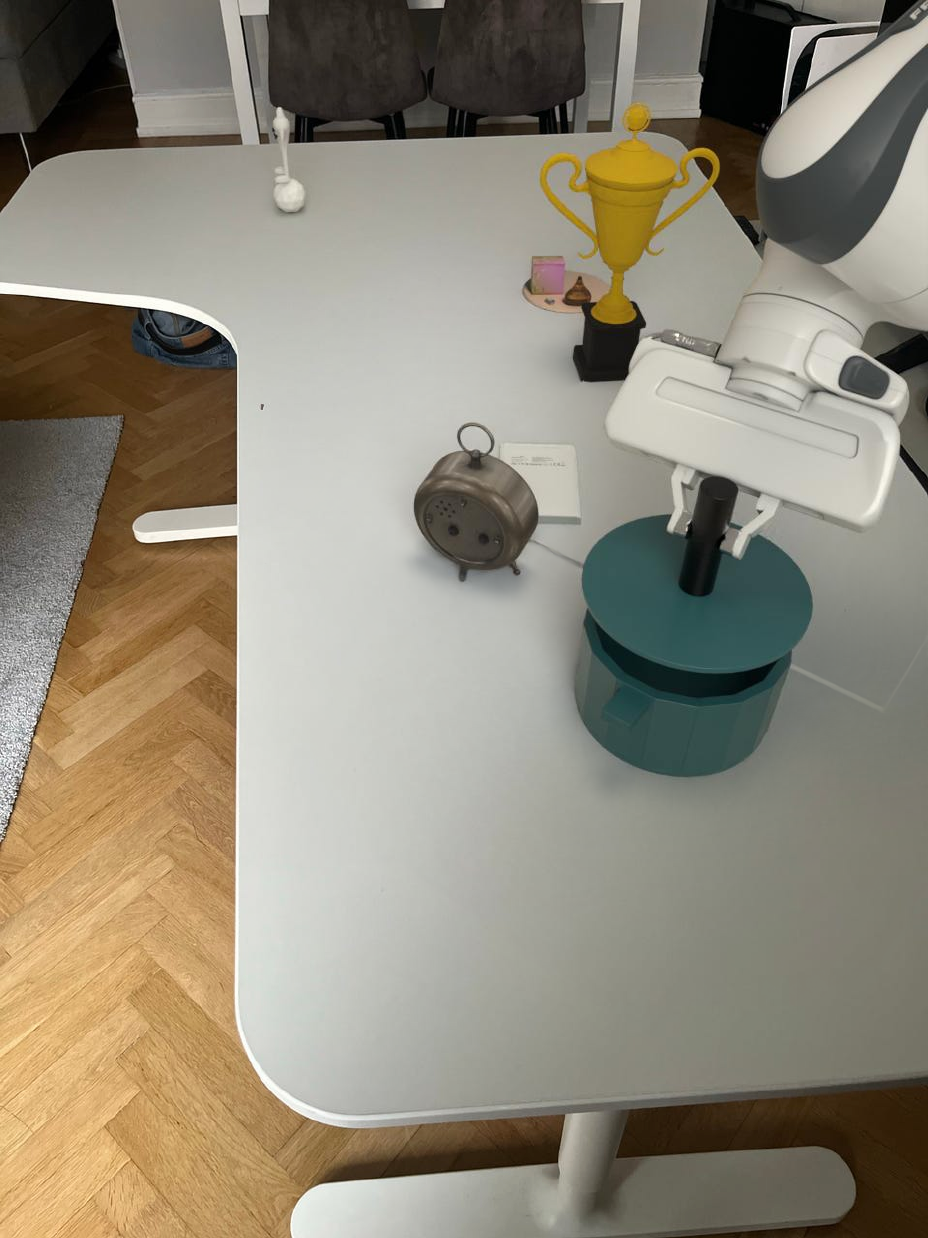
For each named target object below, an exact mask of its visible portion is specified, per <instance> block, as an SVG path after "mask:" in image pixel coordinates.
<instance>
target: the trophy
mask: <svg viewBox="0 0 928 1238" xmlns="http://www.w3.org/2000/svg"><path fill="white" fill-rule="evenodd" d="M651 120H652V113H651V110H650V108H649V106H648V105H646V104H645V103H642V102H633V104H630V105H629V106H628V107H626V109H625V111H624V112H623V115H622V126H623V128H624V129H625V130H626V132H628V133H631V134H633V136H632V138H631V139H624V140H620V141H618V142H617V144H616V145H615V146H614V147H609V148H605V149H601V150H599V151H597V152H594V153H592V154H590V155H589V156H587V157H586V159H585V160H584V164H583V165H584V170H585V176H586V180H585V182H584V183H581V184H579V185H577V184H576V181H578V179H579V178H580V176H581V174H582V170H583V166H582V162H581V161H580V159H579V158H578V156H576V155H574V154H571V153H569V152H559V153H556V154H553V155H552V156H550V157H549V158H548V159H547V160H546V161H545V162H544V164H542V167H541V169H540V175H539V184H540V187H541V190H542V191H543V193H544V195H545V196H546V198H547V200H548V201H549V202H550V203H551V204H552V206H554V208H555V209H556V210H557V211H558V212H560V214H562V215H563V216H564V217H565V218H566V219H567V220H568V221H569V222H571V223H572V225H574V226H576V227H577V228H578V229H579V230H580V231H582V233H584V234H585V235H586V236H587V237H588V238H590V239H591V241H592V243H593V247H594V248H593V250H592V251H591V252H590V253H588V254H585V255H583V254H582V253H581V252H579V251H577V255H578V256H579V257H580V258H582V259H585V260H587V259H590V258H592V257H594V256H595V255H596V254H597V252H598V250H599V255H600V258H601V260H602V262H603V264H605V265H606V266H607V267H608V268H609V270H611V271H612V274H611V277H610V279H611V282H610V287H609V288H610V290H609V293H608V294H605V295H603V296H602V297H601V299H600V300H599V301H598V302H589V303H583V304H582V306H581V309H582V311H583V312H582V314H583V316H584V323H583V332H582V333H583V334H582V344H575V345H574V347H573V352H572V360H573V362H574V365H575V368H576V371H577V373H578V376H579V379H580V382H581V383H582V382H586V383H602V382H603V383H604V382H606V383H607V382H621V381H622V382H624V381H625V379H626V378H627V376H628V375H629V364H630V361H631V359H632V357H633V354H634V352H635V350H636V347H637V345H638V343H639V342H640V336H641V330H642V329H646V327H647V321H646V319H645V318H644V316H643V313H642V311H641V309H640V306H639V305H638V303H637V302H636V301H634V300H630V298H629V297H628V296H626V294H624V281H625V277H624V276H625V272H628V271H629V270H630V269H631V268H633V267H634V266H636V265H637V263H638V262H639V261H640V260H641V258H642V256H643V254H644V252H646V253H647V254H649V255H651V256H654V257H655V256H659V255H660V254H662V253H663V252H664V251H665V248H664V247H663V248H662V249H660V250H659V251H656V252H655V251H652V250H651V249H650V243H651V241H652V240H653V238H654V237H656V235H658V234H659V233H660V232H661V231H663V230H665V228H667V227H669V225H670V224H672V223H674V221H676V220H677V219H679V218H680V217H681V216H682V215H684V214H685V213H686V212H687V211H688V210H689V209H691V208H692V207H693V206H694V205H695V204H696V203H698V202H699V201H700V200H701V199H702V198H703V197H704V196H705V195H706V193H708V191H709V190H710V189H711V188H712V187H713V185H714V184H715V183H716V181H717V179H718V177H719V174H720V169H721V168H720V167H721V165H720V160H719V157H718V155H717V154H716V153H715V152H714V151H713V150H711V149H709V148H706V147H698V148H697V147H696V148H694V149H692V150H690V151H688V152H687V153H684V155H683V157H682V158H681V160H680V161H679V167H678V164H677V163H676V162H675V160H674V159H672V158H671V157H669V156H668V155H666V154H664V153H662V152H659V151H656V150H654V149H652V148H651V146H650V144H649V143H648V142H647V141H643V140H641V139H637V134H639V133H642V132H643V131H645V130H646V129H647V128H648V127H649V124H650V123H651ZM698 157H700V158H706V160H708V161H709V162H710V163H711V165H712V173H711V176H710V177H709V178H708V180H707V182H705V184H703V186H702V187H701V188H700V189H699V190H698V191H697V192H696V193H695V194H694V195H693V196H692V197H690V198H688V200H687V201H686V202H685V203H683V204H682V205H680V206H679V207H678V208H677V209H676V210H675V211H674V212H672V213H670V215H669V216H667V217H666V218H665V219H664V220H662V221H661V222H660V223H658V224H657V225H656V226H655V224H656V222H657V219H658V217H659V214H660V211H661V209H662V207H663V204H664V200H665V199H666V198H667V197H668V196H669V194H670V193H671V190H677V189H679V190H680V189H682V188H684V187H686V186H687V185H689V183H690V181H691V180H690V179H691V177H690V173H689V171H688V168H687V167H688V164H689V162H690V161H691V160H692V159H694V158H698ZM563 162H564V163H565V162H567V163H571V164H572V165H573V167H574V172H573V174H572V176H571V177H570V178H569V181H568V188H569V189H570V191H572V192H575V193H585V194H588V195H589V197H590V201H591V204H592V212H593V214H592V215H593V222H594V227H595V228H594V229H595V232H594V231H593V230H592V228H590V227H589V225H587V224H586V223H585V222H584V221H583V220H582V219H581V218H579V216H577V215H576V214H575V213H574V212H573V211H572V210H570V209H569V207H567V206H566V205H565V204H564V203H563V202H562V201H561V199H559V198H558V197H557V196H556V194H554V192H553V191H552V189H551V187H550V186H549V184H548V181H547V175H548V173H549V171H550V170H551V169H552V168H553V167H554V166H556V165H557V164H559V163H563ZM678 171H679V172H680V174H681V177H682V179H681V180H680V181H679V180H678V181H677V180H675V177H676V176H677V173H678Z"/></svg>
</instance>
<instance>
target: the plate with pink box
mask: <svg viewBox="0 0 928 1238" xmlns="http://www.w3.org/2000/svg"><path fill="white" fill-rule="evenodd" d="M565 268H566V262H565V258H564V255H532V256H531V269H530V278H529V279H528V280H527V281H525V283H524V285H523V286H522V289H521V290H522V291H521V292H522V295H523V297H524V298H525V299H526V301H528V302H529V303H531V304H532V305H534V306H535V307H537V308H540V309H543V310H547V311H551V312H556V313H563V314H564V313H565V314H574V313H575V314H576V313H577V314H579V313H583V311H582V309H581V306H582V304H583V303H589V302H598V301H599V300H600V299H601V297H602V296H603V295H605V294H608V293H609V290H610V287H609V285H608V284H607V283H606V282H605V281H603V279H601V278H599V277H598V276H595V275H592V274H589V273H586V272H581V271H576V270H566V269H565Z"/></svg>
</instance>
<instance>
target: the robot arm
mask: <svg viewBox="0 0 928 1238" xmlns="http://www.w3.org/2000/svg"><path fill="white" fill-rule="evenodd" d="M772 123H773V124H772V125H771V126H770V128H769V129H768V131H767V133H766V134H765V137H764V138H763V140H762V143H761V145H760V148H759V151H758V154H757V155H758V156H757V162H756V168H755V201H756V207H757V214H758V219H759V222H760V226H761V229H762V231H763V233H764V235H765V236H766V237H767V238H766V241H765V244H764V247H763V256H762V261H761V266H760V269H759V272H758V273H757V275H756V277H755V279H754V280H753V281H752V283H751V284H750V285H749V286H748V287H747V289H746V291H745V292H744V293H743V295H742V296H741V299H740V301H739V304H738V306H737V308H736V310H735V312H734V315H733V318H732V320H731V321H730V325H729V326H728V329H727V332H726V334H725V336H724V339H723V341H722V343H720V342H717V341H712V340H709V339H706V338H701V337H695V336H690V335H687V334H683V332H681V331H678V330H676V329H669V328H666V329H664V330H662V332H660V331H659V332H653V333H650V334H648V335H646V336H645V337H643V338H642V339H641V340H639V343H638V345H637V347H636V350H635V352H634V354H633V357H632V359H631V361H630V364H629V375H628V376H627V378H626V379H625V381H623V383H622V384H621V385H620V387H619V390H618V391H617V393H616V395H615V397H614V398H613V401H612V402H611V404H610V406H609V408H608V410H607V412H606V414H605V417H604V418H603V419H604V420H603V429H604V434H605V437H606V438H607V440H608V441H609V442H610V444H612V445H613V447H615V448H617V449H619V450H621V451H624V452H627V453H628V454H629V453H630V454H632V455H635V456H638V457H641V458H644V459H647V460H649V461H651V462H655V463H658V464H660V465H663V466H667V467H669V468H673V469H674V470H673V472H672V475H671V477H670V484H671V492H672V501H673V507H674V510H673V512H672V513H671V514H672V516H671V519H670V521H669V524H668V526H667V532H668V533H670V534H673V535H675V536H678V537H681V538H683V539H686V540H688V536H689V531H690V527H691V522H692V518H693V513H694V512H690V511H689V509H688V508H689V507H688V499H687V490H689V491H694V490H695V488H696V486H697V484H698V483H699V480H700V478H701V479H702V480H703V479H705V478H707V477H712V476H719V477H724V478H727V479H730V480H731V481H733V482H734V483H735V484H736V485H737V487H738V492H741V493H742V494H743V493H744V494H746V495H750V496H751V497H755V498H758V499H757V502H756V504H755V506H754V508H755V509H756V511H757V514H758V515H757V516H755V517H754V518H752V519H751V520H750V521H749V522H748V523H746V525H744V526H742V527H743V528H742V529H740V530H737V529H734V528H732V527H729V528H728V530H727V531H726V534H725V538H726V539H725V540H723V541H722V543H721V545H720V549H719V551H720V552H721V553H723V554H726V555H728V556H731V557H733V558H736V559H739V560H741V559H742V557H743V555H744V553H745V551H746V548H747V546H748V544H749V541H750V539H751V538H754V537H755V536H756V535H758V534H759V535H760V534H761V533H762V532H763V531H765V530H766V529H767V528H769V527H771V526H772V525H773V524H774V523H775V522H777V520H778V518H779V516H780V513H781V511H782V508H783V507H784V508H786V509H789V510H792V511H795V512H797V513H800V514H804V515H806V516H809V517H811V518H815V519H818V520H820V521H823V522H826V523H829V524H831V525H834V526H838V527H840V528H843V529H846V530H849V531H852V532H855V533H858V534H864V533H866V532H868V531H870V530H873V529H874V528H876V527H877V526H878V525H879V523H880V521H881V518H882V517H883V514H884V511H885V508H886V506H887V504H888V500H889V497H890V495H891V491H892V487H893V484H894V480H895V476H896V472H897V468H898V463H899V458H900V453H901V452H900V451H901V433H900V429H899V426H900V425H901V423H902V422H903V421H904V418H905V416H906V414H907V411H908V409H909V404H910V391H909V387H908V383H907V382H906V380H905V379H904V378H903V376H900V374H897V373H896V372H895V371H894V370H892V369H890V368H889V367H887V366H886V365H884V364H883V363H881V362H880V361H878V360H876V358H874V357H872V356H871V355H869V354H868V353H866V352H865V351H863V350H862V349H861V348H862V345H863V344H864V341H865V336H866V334H867V331H868V329H869V328H870V327H871V326H872V325H874V324H876V323H879V322H887V323H889V324H891V325H893V326H896V327H899V328H902V329H907V330H911V331H916V332H922V333H923V332H924V333H928V0H917V1H916V2H915V3H914V4H913V5H912V6H911V7H909V9H907V11H905V12H904V13H903V14H902V15H901V16H899V18H897V19H896V20H895V21H894V22H893V23H892V24H891V25H890V26H889V27H887V28H886V29H885V30H884V31H883V32H882V33H880V34H879V35H878V36H877V37H876V38H875V39H873V40H872V41H871V42H870V43H869V44H867V45H865V46H864V47H863V48H862V49H860V50H859V51H858V52H856V53H854V54H853V55H852V56H850V57H849V58H848V59H846V60H845V61H843V62H842V63H840V64H839V65H837V66H835V68H833V69H831V70H830V71H829V72H827V73H825V75H823V76H821V77H820V78H819V79H818V80H816V81H815V82H813V83H812V84H811V85H809V86H808V87H807V88H805V89H804V90H803V91H802V92H800V94H799V95H798V96H796V97H795V98H794V99H793V100H792V101H791V102H790V103H789V104H788V105H787V106H786V107H785V108H784V109H783V111H781V113H780V114H779V115H778V116H777V118H776V119H775V121H774V122H772ZM657 339H660V340H657Z"/></svg>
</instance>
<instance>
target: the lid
mask: <svg viewBox="0 0 928 1238" xmlns="http://www.w3.org/2000/svg"><path fill="white" fill-rule="evenodd" d="M738 495H739V491H738V487H737V485H736V484H735V483H734V482H733V481H731V480H730V479H727V478H724V477H719V476H712V477H707V478H705V479H703V478H702V480H701V481H700V482H699V486H698V491H697V495H696V499H695V504H694V509H693V512H692V513H693V518H692V522H691V527H690V531H689V536H688V540H686V539H683V538H681V537H678V536H675V535H673V534H670V533H668V532H667V526H668V524H669V521H670V519H671V516H672V514H673V513H669V514H668V513H667V514H665V513H664V514H659V515H650V516H646V517H641V518H637V519H633V520H631V521H628V522H626V523H623V524H621V525H618V526H616V527H615V528H613V529H612V530H610V531H608V532H607V533H606V534H604V535H603V536H602V537H601V538H600V539H598V541H597V542H596V543H595V544H594V545H593V546H592V548H591V549H590V551H589V552H588V554H587V556H586V557H585V560H584V563H583V565H582V573H581V580H580V581H581V592H582V596H583V597H582V598H583V601H584V602H585V605H586V608H587V607H588V610H589V611H590V613H591V614H592V616H593V618H594V619H595V621H596V622H597V623H598V624H599V625H600V627H601V628H602V629H603V630H604V631H605V632H606V633H607V634H608V635H609V636H611V637H612V638H613V639H614V640H615V641H617V642H618V643H619V644H621V645H622V646H624V647H625V648H627V649H629V650H630V651H632V652H634V653H635V654H637V655H639V656H641V657H644V658H646V659H648V660H650V661H653V662H656V663H658V664H661V665H664V666H667V667H671V668H675V669H680V670H684V671H691V672H697V673H713V674H719V673H735V672H741V671H747V670H751V669H755V668H759V667H762V666H764V665H767V664H769V663H772V662H774V661H776V660H778V659H779V658H781V657H783V656H785V655H786V654H787V653H788V652H790V651H791V650H792V651H793V650H794V649H795V647H797V645H798V644H799V643H800V642H801V641H802V640H803V638H804V636H805V634H806V633H807V631H808V630H809V629H808V628H809V626H810V623H811V620H812V617H813V609H814V602H813V600H814V599H813V594H812V591H811V587H810V584H809V582H808V580H807V578H806V575H805V573H804V572H803V571H802V570H801V568H800V567H799V565H798V564H797V563H796V562H795V560H793V559H792V557H791V556H790V555H788V554H787V552H785V551H784V550H783V549H782V548H781V547H779V546H778V545H777V544H775V543H774V542H772V541H771V540H770V539H768V538H766V537H765V536H763V535H761V534H760V533H759V534H758V535H756V536H755V537H754V538H751V539H750V541H749V544H748V546H747V548H746V551H745V553H744V555H743V557H742V559H741V560H739V559H736V558H733V557H731V556H728V555H726V554H723V553H721V552H720V551H719V549H720V545H721V543H722V541H723V540H725V539H726V538H725V534H726V531H727V530H728V528H729V527H732V528H734V529H737V530H740V529H742V528H743V527H744V526H742V525H740V524H737V523H734V522H732V519H733V515H734V511H735V506H736V502H737V498H738Z"/></svg>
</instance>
